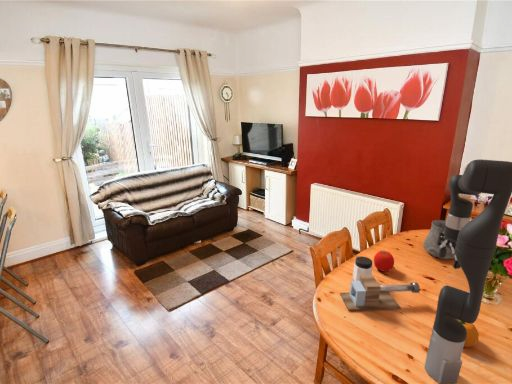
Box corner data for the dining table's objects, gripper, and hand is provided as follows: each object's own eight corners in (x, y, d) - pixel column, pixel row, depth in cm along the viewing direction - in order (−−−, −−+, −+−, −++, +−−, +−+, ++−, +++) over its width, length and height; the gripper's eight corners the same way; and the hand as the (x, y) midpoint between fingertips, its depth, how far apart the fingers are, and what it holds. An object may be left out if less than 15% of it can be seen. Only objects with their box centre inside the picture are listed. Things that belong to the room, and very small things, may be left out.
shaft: (413, 288, 141) (414, 280, 140) (418, 294, 137) (420, 286, 135) (363, 290, 140) (364, 281, 139) (367, 296, 136) (369, 288, 134)
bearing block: (400, 309, 134) (404, 287, 131) (348, 311, 133) (351, 289, 129) (388, 292, 146) (391, 272, 142) (340, 294, 144) (342, 274, 141)
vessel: (411, 251, 185) (416, 221, 179) (433, 243, 195) (438, 215, 189) (446, 267, 167) (453, 235, 161) (468, 258, 177) (475, 227, 171)
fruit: (434, 333, 120) (439, 313, 117) (453, 325, 125) (458, 305, 122) (463, 355, 110) (469, 333, 107) (483, 345, 115) (489, 324, 112)
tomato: (390, 265, 169) (393, 248, 166) (394, 275, 160) (397, 257, 156) (371, 263, 172) (373, 246, 169) (373, 272, 162) (376, 255, 159)
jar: (362, 287, 150) (365, 266, 146) (349, 279, 156) (351, 259, 153) (373, 281, 155) (376, 261, 151) (360, 274, 161) (362, 254, 158)
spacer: (364, 305, 135) (366, 291, 133) (355, 306, 135) (357, 291, 132) (357, 294, 143) (359, 280, 140) (349, 295, 142) (351, 280, 140)
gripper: (480, 233, 108) (470, 272, 113) (453, 218, 122) (446, 253, 126) (460, 233, 108) (451, 272, 113) (435, 218, 121) (429, 253, 126)
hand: (448, 262), depth 119 cm, fingers open, 8 cm apart
